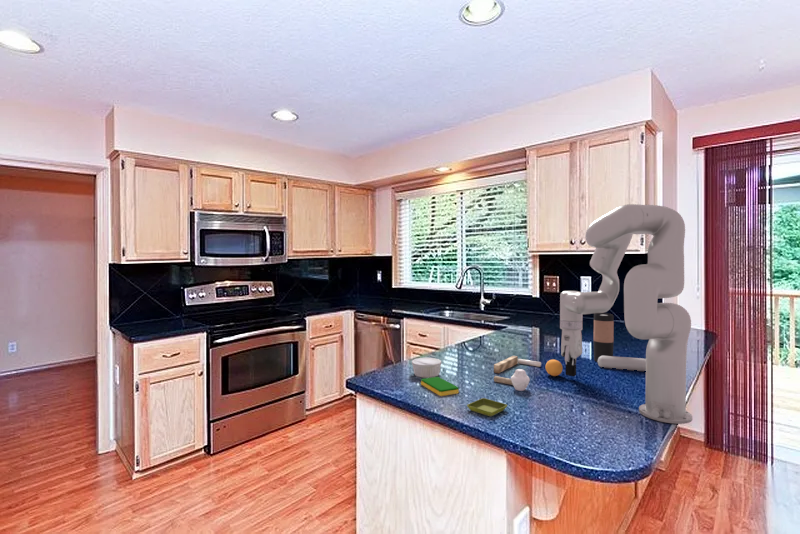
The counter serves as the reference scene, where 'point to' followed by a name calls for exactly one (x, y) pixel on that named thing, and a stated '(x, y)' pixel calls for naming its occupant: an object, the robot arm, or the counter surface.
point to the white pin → (529, 362)
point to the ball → (554, 367)
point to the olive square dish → (487, 407)
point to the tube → (622, 363)
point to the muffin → (520, 380)
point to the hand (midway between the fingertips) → (570, 375)
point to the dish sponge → (439, 386)
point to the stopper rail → (505, 364)
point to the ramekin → (426, 367)
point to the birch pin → (502, 380)
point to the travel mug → (603, 335)
